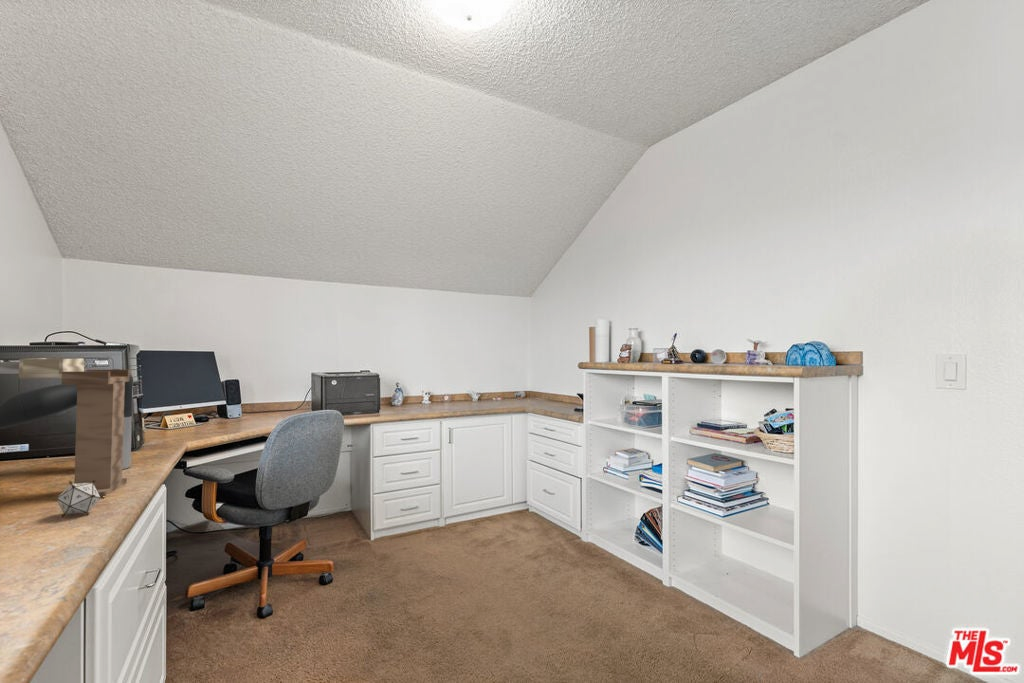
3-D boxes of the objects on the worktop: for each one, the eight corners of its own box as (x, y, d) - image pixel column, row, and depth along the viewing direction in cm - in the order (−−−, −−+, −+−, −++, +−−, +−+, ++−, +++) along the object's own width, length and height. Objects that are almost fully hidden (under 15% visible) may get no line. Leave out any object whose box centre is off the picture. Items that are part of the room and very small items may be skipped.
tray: (4, 376, 134) (4, 358, 134) (83, 375, 140) (84, 358, 140) (-26, 378, 123) (-26, 358, 123) (62, 377, 129) (62, 359, 129)
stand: (84, 486, 141) (88, 369, 142) (126, 483, 144) (129, 369, 145) (57, 501, 127) (61, 371, 128) (104, 497, 130) (108, 371, 131)
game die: (78, 532, 115) (64, 506, 110) (52, 517, 117) (37, 490, 111) (116, 504, 122) (105, 479, 117) (91, 490, 124) (79, 464, 119)
